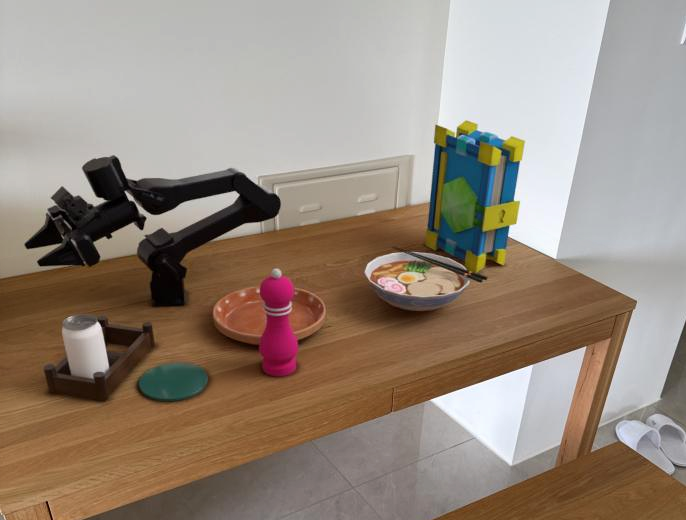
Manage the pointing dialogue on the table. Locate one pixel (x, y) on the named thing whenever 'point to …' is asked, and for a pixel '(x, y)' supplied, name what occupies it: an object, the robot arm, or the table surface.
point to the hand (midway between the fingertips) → (31, 255)
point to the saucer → (250, 319)
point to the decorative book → (473, 194)
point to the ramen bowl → (418, 279)
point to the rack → (118, 362)
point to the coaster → (173, 381)
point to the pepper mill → (278, 326)
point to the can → (84, 345)
